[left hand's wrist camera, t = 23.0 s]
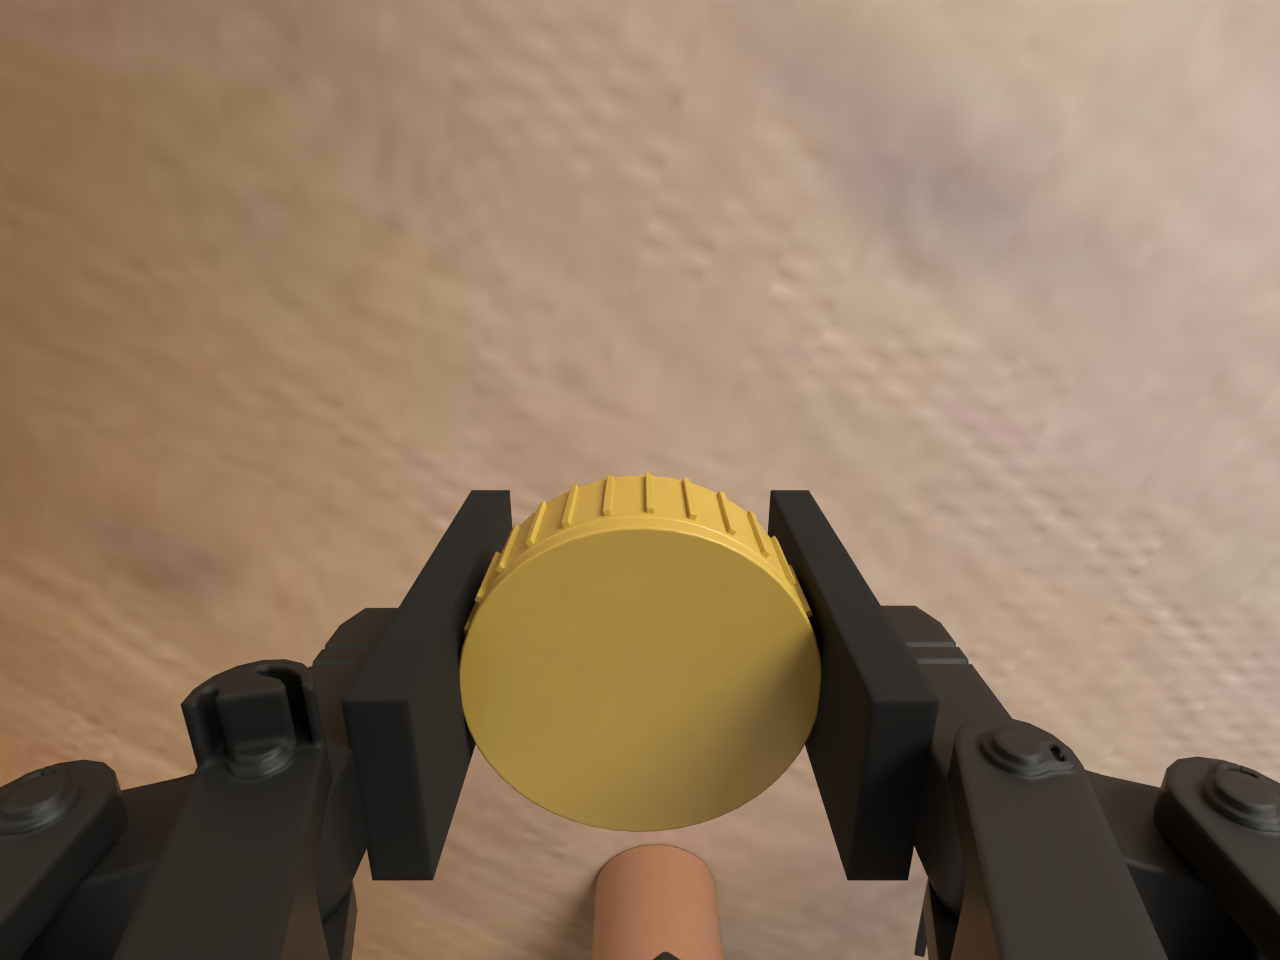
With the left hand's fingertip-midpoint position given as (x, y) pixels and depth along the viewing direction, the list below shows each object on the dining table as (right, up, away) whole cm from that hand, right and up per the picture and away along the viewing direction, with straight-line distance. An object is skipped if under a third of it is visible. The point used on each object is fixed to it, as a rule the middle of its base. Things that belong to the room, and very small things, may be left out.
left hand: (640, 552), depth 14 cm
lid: (0, -2, -4) cm, 4 cm away
